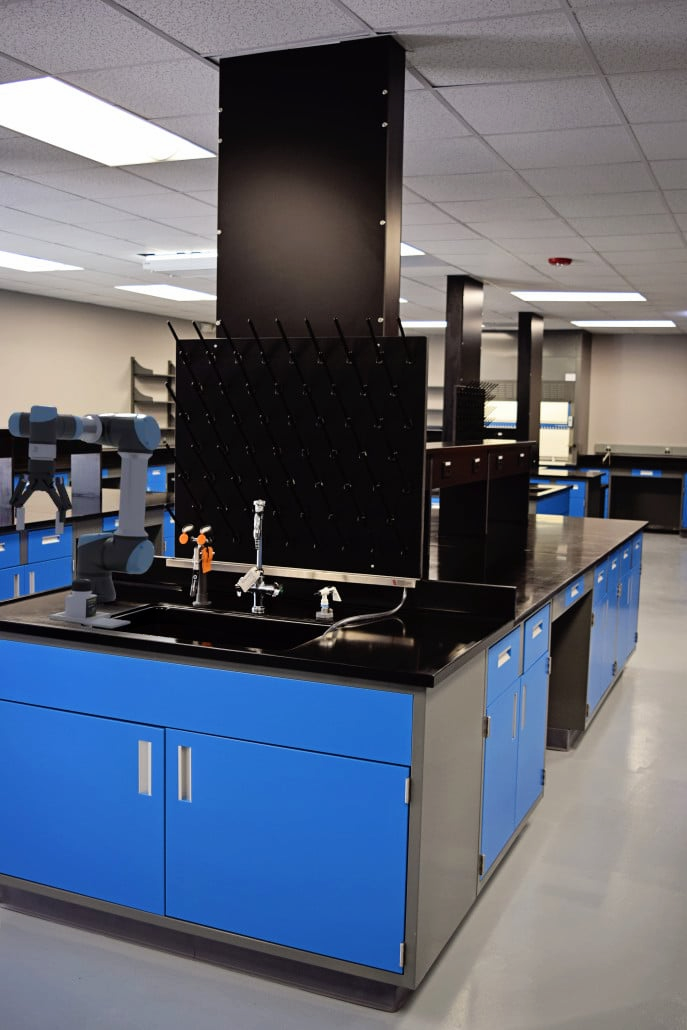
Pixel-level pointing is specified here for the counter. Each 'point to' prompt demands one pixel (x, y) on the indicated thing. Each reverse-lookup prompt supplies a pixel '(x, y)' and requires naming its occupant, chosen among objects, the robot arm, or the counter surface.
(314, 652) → the counter surface
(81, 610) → the medicine bottle
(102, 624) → the pad
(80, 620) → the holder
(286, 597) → the counter surface
